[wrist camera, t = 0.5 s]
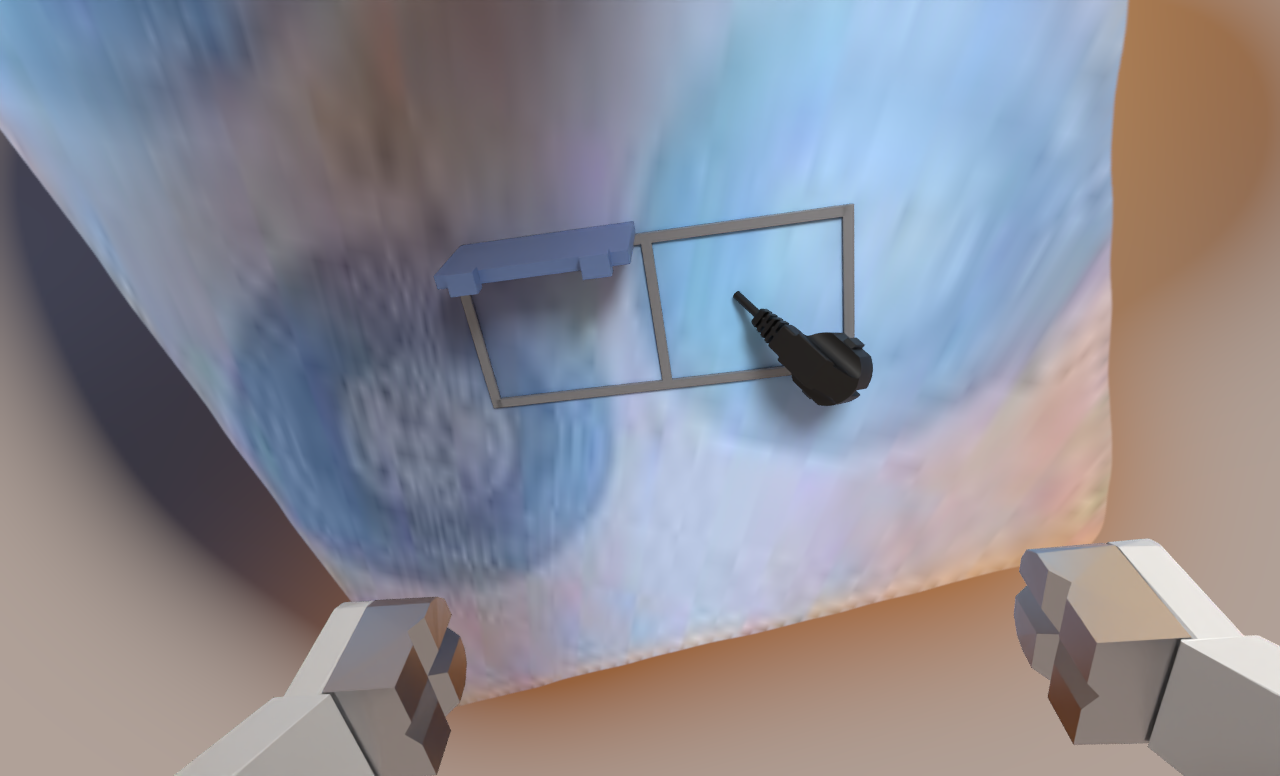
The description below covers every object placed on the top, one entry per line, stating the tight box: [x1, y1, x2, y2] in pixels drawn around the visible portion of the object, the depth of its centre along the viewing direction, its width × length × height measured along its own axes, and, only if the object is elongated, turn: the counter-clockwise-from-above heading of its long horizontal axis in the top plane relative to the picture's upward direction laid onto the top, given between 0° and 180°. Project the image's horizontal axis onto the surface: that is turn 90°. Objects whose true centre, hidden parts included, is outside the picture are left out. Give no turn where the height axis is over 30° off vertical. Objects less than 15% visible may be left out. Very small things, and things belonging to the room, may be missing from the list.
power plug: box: [733, 291, 873, 406], centre depth 55 cm, size 6×8×12 cm
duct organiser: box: [434, 204, 854, 408], centre depth 53 cm, size 15×32×8 cm, turn 99°
